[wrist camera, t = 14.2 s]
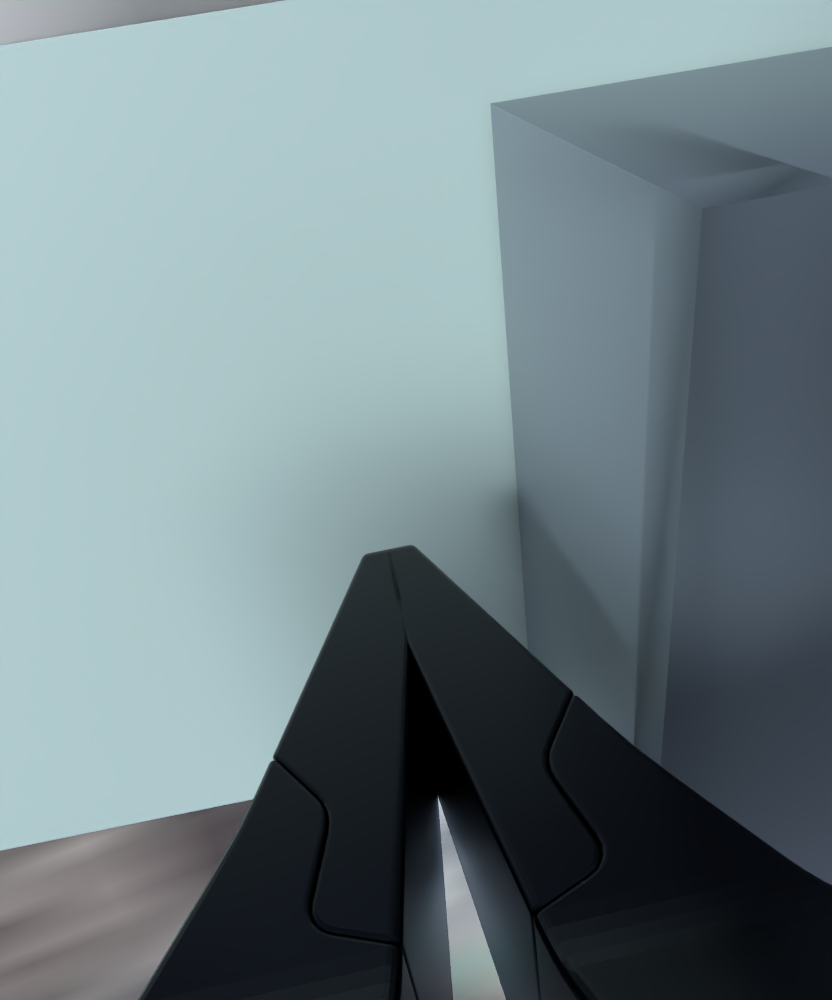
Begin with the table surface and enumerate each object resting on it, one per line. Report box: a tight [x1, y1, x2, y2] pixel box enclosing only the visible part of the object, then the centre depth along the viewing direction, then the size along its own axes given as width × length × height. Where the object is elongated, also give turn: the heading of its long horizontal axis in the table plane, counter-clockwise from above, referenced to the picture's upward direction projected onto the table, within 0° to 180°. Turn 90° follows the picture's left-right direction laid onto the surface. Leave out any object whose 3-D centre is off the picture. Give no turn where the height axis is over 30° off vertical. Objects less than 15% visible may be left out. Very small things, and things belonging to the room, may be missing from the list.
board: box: [0, 0, 832, 850], centre depth 10 cm, size 12×22×4 cm, turn 97°
